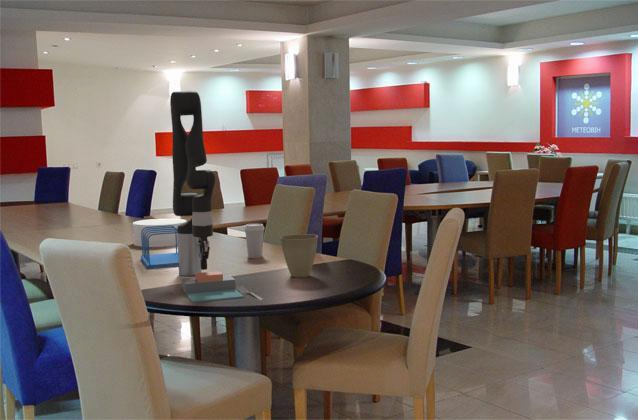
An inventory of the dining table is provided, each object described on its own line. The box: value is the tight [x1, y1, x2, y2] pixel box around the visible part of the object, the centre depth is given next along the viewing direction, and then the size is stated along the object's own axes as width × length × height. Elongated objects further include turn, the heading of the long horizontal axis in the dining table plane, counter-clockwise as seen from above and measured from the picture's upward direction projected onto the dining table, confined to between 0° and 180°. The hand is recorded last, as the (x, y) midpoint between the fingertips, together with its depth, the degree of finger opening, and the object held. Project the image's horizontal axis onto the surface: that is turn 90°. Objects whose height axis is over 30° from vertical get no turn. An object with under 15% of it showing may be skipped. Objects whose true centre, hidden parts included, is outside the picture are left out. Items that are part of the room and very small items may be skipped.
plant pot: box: [280, 233, 319, 278], centre depth 278 cm, size 15×15×16 cm
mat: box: [185, 288, 244, 303], centre depth 245 cm, size 12×18×1 cm, turn 110°
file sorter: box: [140, 225, 179, 269], centre depth 312 cm, size 25×17×15 cm
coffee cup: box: [243, 223, 266, 259], centre depth 323 cm, size 10×10×15 cm
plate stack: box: [132, 218, 188, 248], centre depth 370 cm, size 28×28×12 cm
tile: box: [194, 270, 224, 283], centre depth 254 cm, size 6×9×2 cm, turn 110°
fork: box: [235, 285, 263, 301], centre depth 245 cm, size 3×24×2 cm, turn 31°
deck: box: [180, 274, 236, 295], centre depth 256 cm, size 10×18×4 cm, turn 110°
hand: (203, 269), depth 261 cm, fingers closed
